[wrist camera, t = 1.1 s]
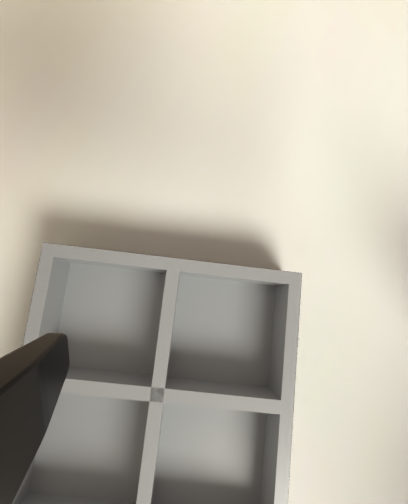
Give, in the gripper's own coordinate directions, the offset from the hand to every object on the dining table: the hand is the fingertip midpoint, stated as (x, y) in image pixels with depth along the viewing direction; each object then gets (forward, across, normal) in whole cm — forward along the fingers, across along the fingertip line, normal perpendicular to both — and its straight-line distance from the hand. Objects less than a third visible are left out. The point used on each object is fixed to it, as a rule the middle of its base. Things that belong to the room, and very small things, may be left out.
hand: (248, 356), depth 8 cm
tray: (+9, +3, +14) cm, 17 cm away
